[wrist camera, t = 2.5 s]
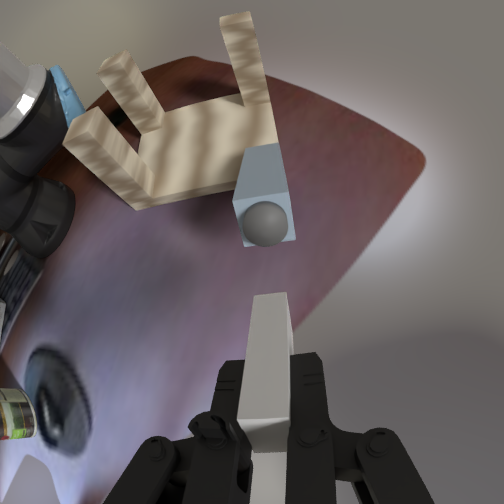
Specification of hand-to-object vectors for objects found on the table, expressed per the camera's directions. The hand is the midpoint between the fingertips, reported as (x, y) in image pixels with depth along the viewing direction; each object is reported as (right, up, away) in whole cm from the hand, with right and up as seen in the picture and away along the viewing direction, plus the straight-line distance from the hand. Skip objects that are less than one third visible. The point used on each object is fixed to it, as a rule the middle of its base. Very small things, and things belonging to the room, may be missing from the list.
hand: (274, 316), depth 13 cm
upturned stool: (-8, +19, +27) cm, 34 cm away
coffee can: (-45, -28, +18) cm, 56 cm away
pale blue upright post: (+1, +14, +19) cm, 24 cm away
